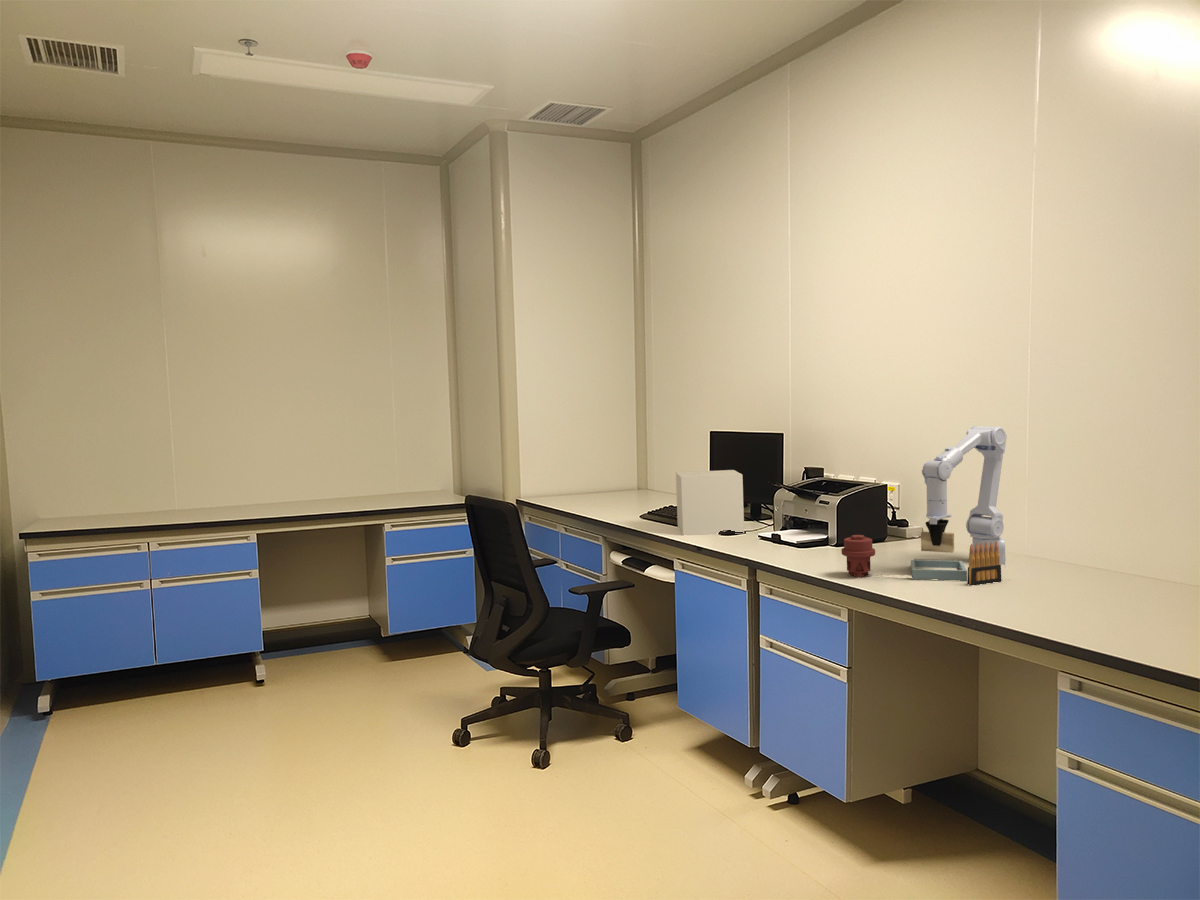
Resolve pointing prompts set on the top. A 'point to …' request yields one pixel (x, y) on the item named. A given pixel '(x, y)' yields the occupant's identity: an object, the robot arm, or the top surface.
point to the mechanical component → (858, 554)
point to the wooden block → (945, 545)
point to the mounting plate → (935, 559)
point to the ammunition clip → (984, 564)
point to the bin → (938, 574)
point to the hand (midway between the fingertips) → (937, 544)
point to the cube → (709, 502)
